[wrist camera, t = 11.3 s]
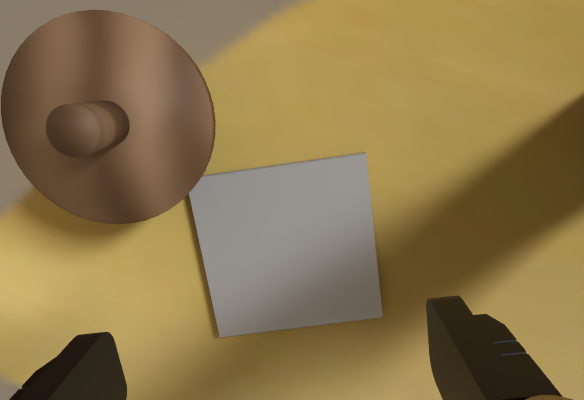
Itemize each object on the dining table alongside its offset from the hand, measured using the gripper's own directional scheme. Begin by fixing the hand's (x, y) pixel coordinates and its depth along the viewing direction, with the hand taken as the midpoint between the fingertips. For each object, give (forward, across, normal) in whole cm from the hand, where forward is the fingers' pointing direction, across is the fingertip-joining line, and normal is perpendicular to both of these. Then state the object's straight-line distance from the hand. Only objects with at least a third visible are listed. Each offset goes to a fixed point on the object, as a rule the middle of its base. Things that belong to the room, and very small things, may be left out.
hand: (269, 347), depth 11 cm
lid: (+22, +13, -5) cm, 26 cm away
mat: (+29, +2, +8) cm, 30 cm away
